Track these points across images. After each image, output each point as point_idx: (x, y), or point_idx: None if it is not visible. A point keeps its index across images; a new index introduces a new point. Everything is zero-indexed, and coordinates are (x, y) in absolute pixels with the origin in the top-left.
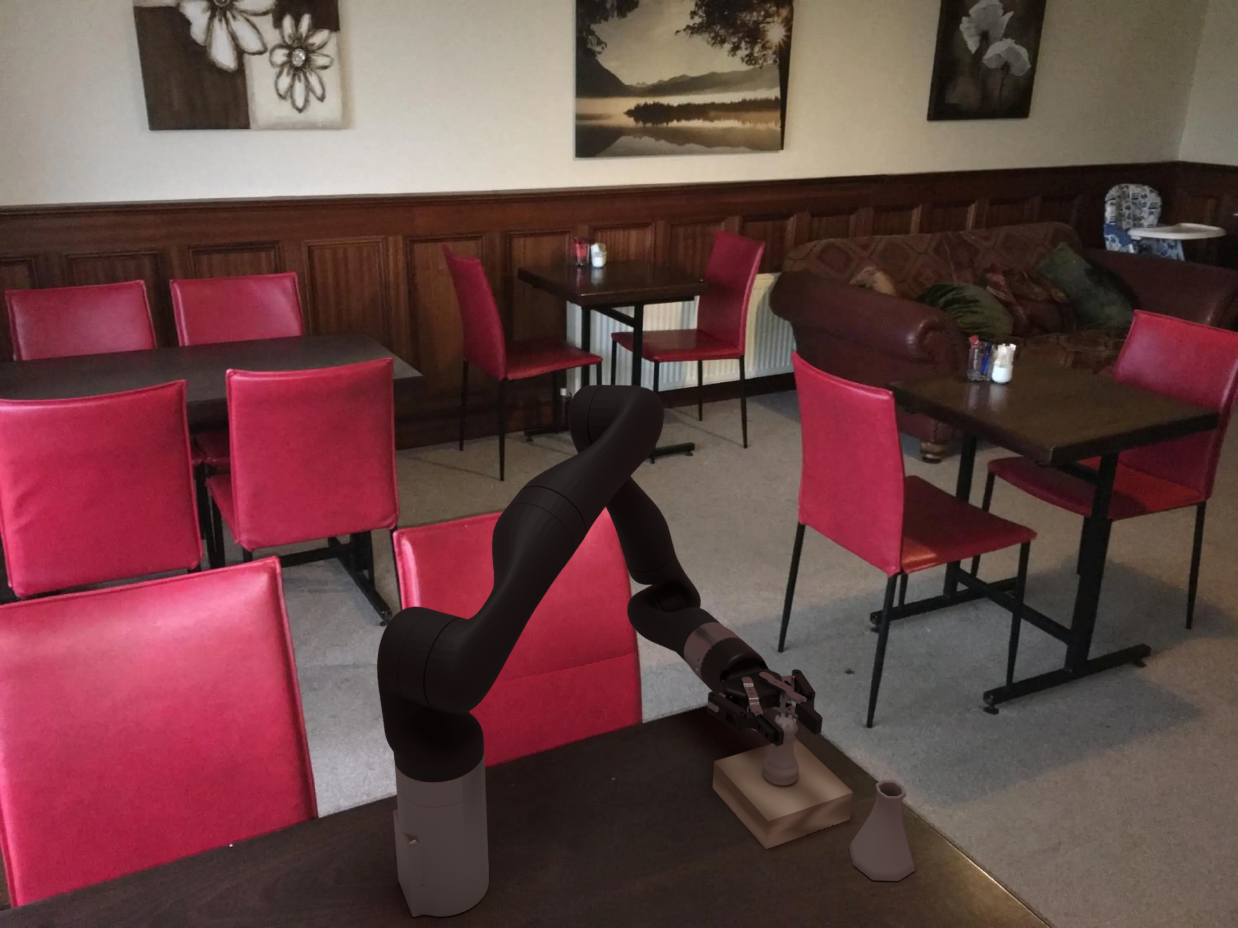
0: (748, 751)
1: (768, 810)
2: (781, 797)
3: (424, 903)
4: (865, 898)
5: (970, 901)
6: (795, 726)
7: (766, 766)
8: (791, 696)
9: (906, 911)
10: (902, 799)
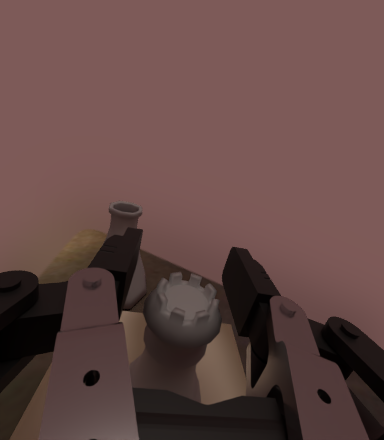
0: None
1: (223, 339)
2: None
3: None
4: (164, 273)
5: (100, 241)
6: (168, 282)
7: (200, 395)
8: (111, 310)
9: (146, 256)
10: (119, 210)
